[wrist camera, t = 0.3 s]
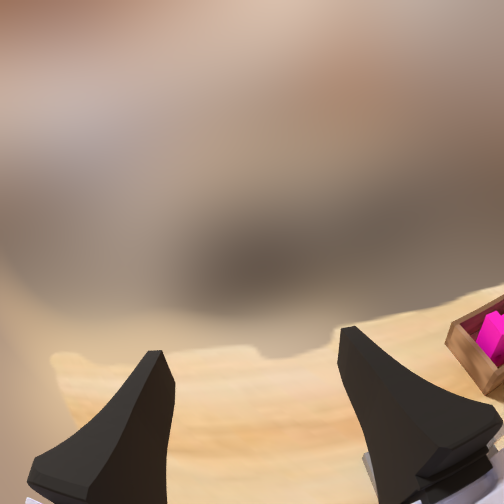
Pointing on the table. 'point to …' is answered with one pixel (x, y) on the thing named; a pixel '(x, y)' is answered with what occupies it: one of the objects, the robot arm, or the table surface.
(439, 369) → the table surface
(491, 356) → the toy block
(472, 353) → the wooden caddy
